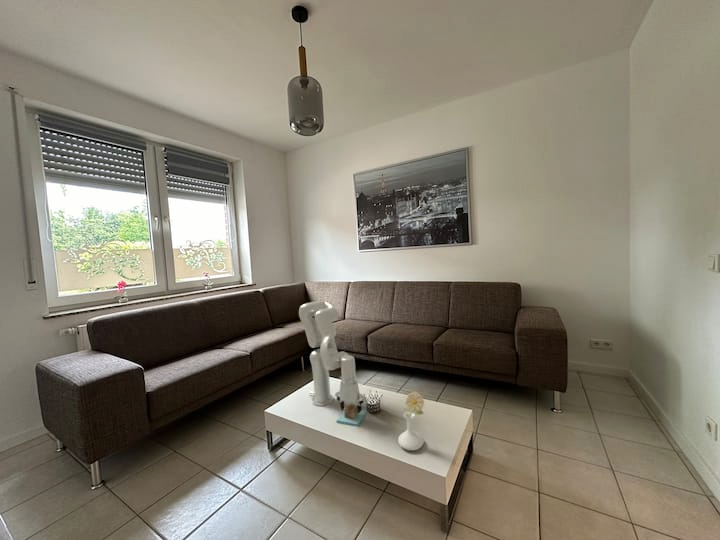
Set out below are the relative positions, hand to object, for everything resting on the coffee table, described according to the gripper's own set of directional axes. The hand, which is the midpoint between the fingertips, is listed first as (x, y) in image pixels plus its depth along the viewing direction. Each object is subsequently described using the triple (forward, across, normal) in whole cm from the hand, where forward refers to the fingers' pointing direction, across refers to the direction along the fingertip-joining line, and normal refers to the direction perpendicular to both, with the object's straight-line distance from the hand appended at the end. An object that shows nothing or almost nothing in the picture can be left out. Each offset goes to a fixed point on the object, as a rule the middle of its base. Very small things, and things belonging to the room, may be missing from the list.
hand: (351, 410), depth 151 cm
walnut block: (+3, 0, 0) cm, 3 cm away
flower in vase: (+4, +35, -12) cm, 37 cm away
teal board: (+4, 0, 0) cm, 4 cm away
